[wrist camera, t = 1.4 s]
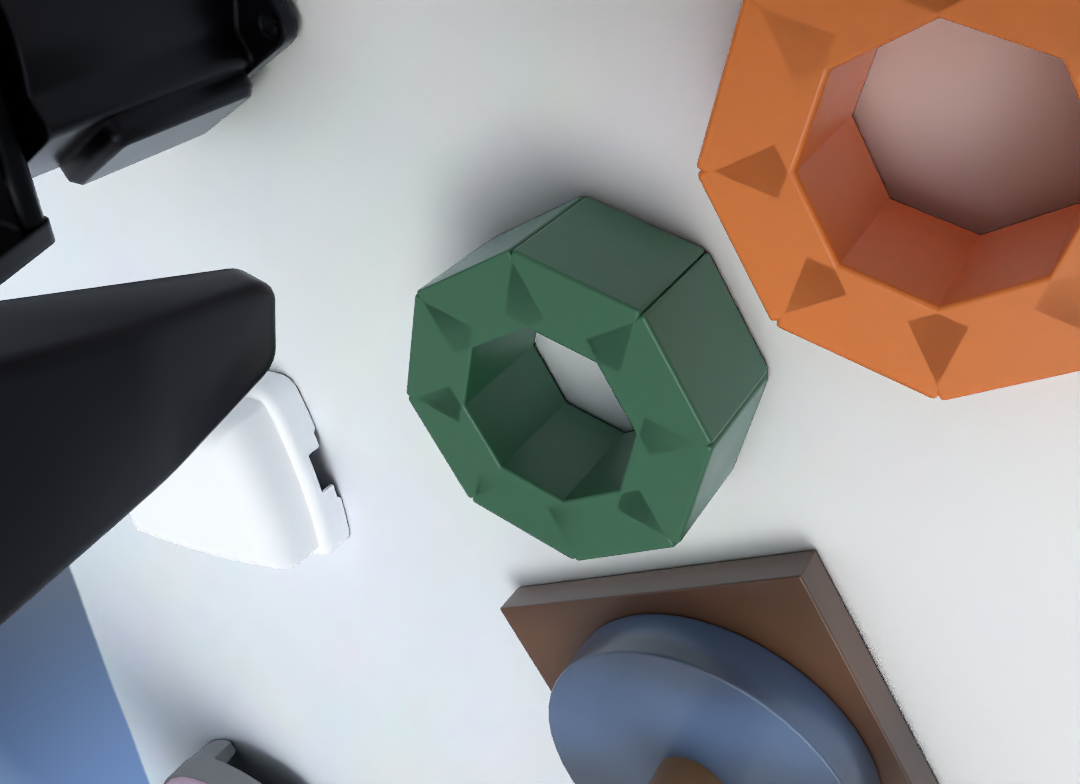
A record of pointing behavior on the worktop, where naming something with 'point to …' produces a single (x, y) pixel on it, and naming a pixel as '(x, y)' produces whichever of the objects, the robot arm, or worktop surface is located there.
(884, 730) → the ring stand
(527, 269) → the green ring
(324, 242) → the worktop surface
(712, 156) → the orange ring
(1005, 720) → the worktop surface
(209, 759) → the blender
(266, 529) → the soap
